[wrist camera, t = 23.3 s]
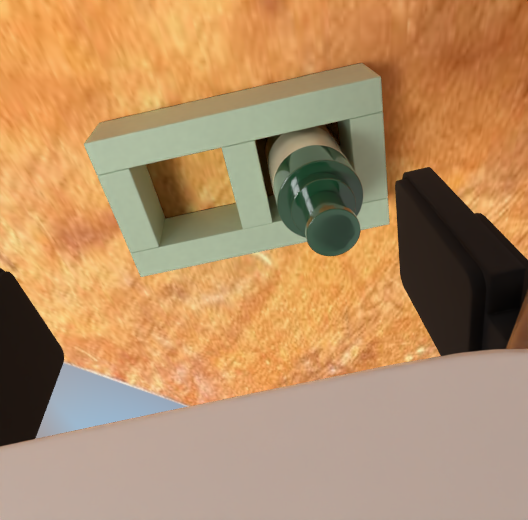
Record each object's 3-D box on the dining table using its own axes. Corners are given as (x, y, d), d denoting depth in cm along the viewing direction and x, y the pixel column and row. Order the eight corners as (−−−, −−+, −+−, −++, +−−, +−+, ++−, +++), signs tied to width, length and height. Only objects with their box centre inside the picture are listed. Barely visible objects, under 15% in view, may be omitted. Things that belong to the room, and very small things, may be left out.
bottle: (304, 99, 33) (344, 166, 22) (346, 151, 35) (401, 234, 25) (250, 147, 35) (263, 232, 24) (294, 194, 37) (324, 289, 26)
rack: (98, 122, 33) (82, 144, 29) (362, 62, 32) (381, 76, 28) (148, 246, 39) (140, 277, 35) (372, 198, 38) (389, 224, 34)
